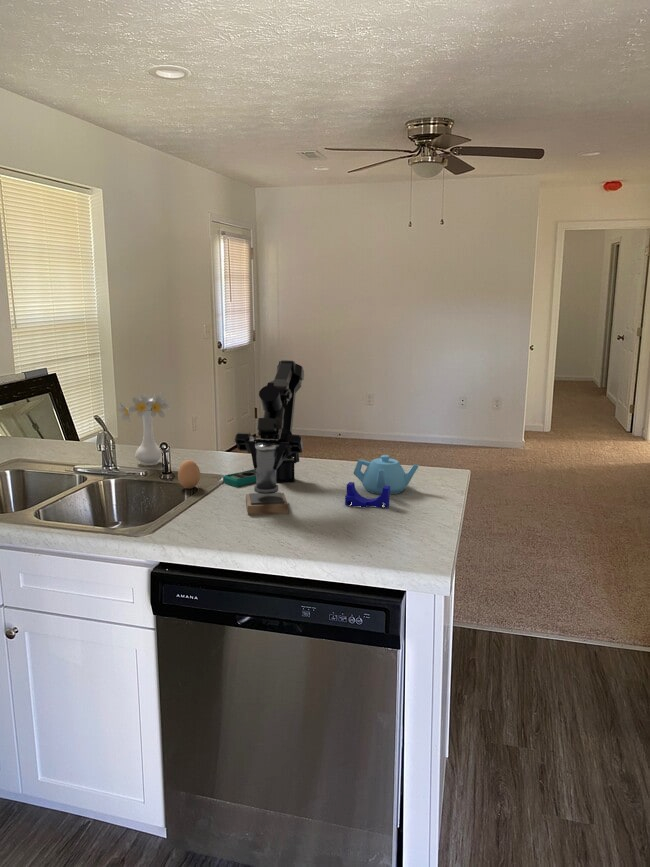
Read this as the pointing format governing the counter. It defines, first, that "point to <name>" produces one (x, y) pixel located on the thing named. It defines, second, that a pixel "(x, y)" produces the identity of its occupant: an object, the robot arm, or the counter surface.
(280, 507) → the stand
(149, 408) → the flower vase
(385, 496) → the cable clip
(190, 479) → the egg
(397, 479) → the teapot
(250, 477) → the digital multimeter
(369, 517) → the counter surface
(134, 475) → the counter surface
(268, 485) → the grey plastic cylinder
